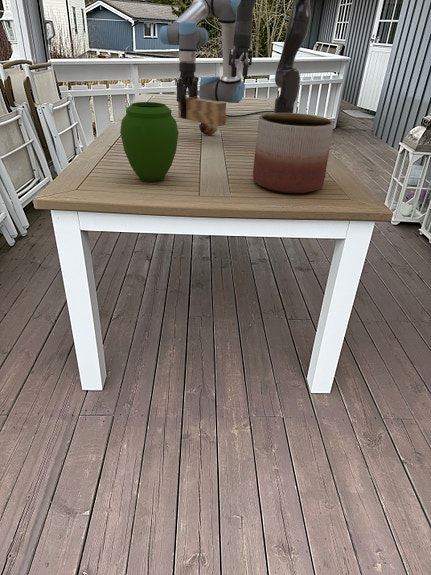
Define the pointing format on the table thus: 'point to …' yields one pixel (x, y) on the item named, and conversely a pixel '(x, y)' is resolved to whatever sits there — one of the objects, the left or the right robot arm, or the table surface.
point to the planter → (292, 152)
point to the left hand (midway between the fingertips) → (187, 117)
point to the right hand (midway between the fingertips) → (239, 76)
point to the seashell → (208, 128)
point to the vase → (149, 139)
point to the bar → (204, 111)
